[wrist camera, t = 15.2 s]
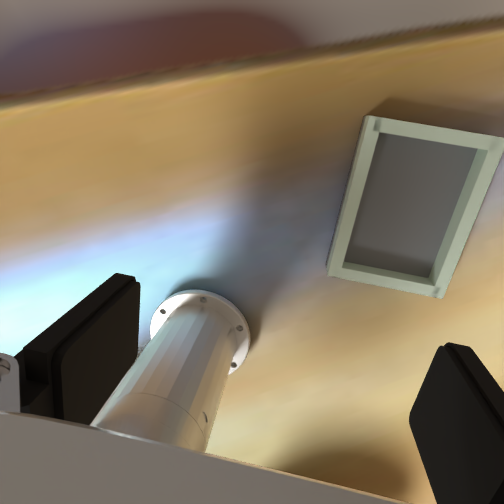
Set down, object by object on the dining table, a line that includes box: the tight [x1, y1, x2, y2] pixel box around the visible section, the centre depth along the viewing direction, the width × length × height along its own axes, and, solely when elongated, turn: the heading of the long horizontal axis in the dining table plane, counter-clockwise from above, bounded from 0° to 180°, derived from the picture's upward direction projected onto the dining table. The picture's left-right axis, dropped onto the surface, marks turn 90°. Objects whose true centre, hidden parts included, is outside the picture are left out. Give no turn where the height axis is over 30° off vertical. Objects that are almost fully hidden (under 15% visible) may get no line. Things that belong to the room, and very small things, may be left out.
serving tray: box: [326, 116, 504, 299], centre depth 35 cm, size 16×12×3 cm
